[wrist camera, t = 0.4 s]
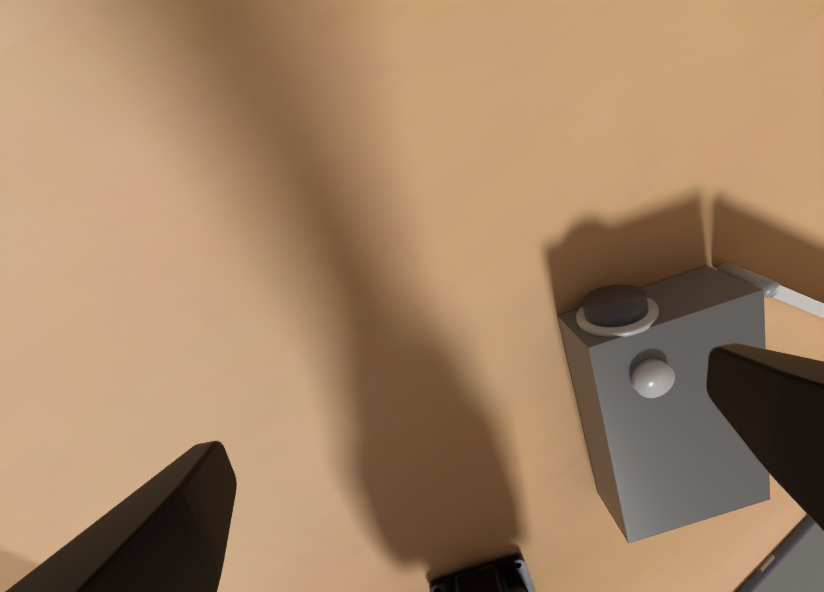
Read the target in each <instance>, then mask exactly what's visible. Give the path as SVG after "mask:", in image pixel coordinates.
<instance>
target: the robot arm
mask: <svg viewBox="0 0 824 592" xmlns="http://www.w3.org/2000/svg"><path fill="white" fill-rule="evenodd" d="M706 389H707V393H708V395H709V397H710V399H711V401H712V402H713V403H714V404H715V406H716V407H717V408H718V410H719V411H720V412H721V413H722V415H723V416H724V417H725V418H726V420H727V421H728V422H729V424H730V425H731V426H732V427H733V429H734V430H735V431H736V432H737V434H738V435H739V436H740V438H741V439H742V440H743V441H744V443H745V444H746V445H747V446H748V448H749V449H750V450H751V452H752V453H753V454H754V455H755V457H756V458H757V459H758V460H759V462H760V463H761V464H762V465H763V466H764V468H765V469H766V470H767V471H768V472H769V473H770V474H771V476H772V477H773V478H774V479H775V480H776V481H777V482H778V483H779V484H780V485H781V486H782V488H783V489H784V490H785V491H786V492H787V493H788V494H789V495H790V496H791V497H792V498H793V499H794V500H795V501H796V502H797V503H798V505H799V506H800V507H801V508H802V509H803V510H804V511H805V512H806V513H807V514H808V515H809V516H810V517H811V518H812V519H813V520H814V521H815V523H816V524H817V525H818V526H819V527H820V528H821V529H822V530H823V531H824V362H823V361H818V360H814V359H809V358H804V357H800V356H795V355H790V354H786V353H781V352H776V351H771V350H767V349H762V348H757V347H753V346H748V345H743V344H738V343H732V344H727V345H722V346H717V347H714V348H713V349H711V351H710V353H709V357H708V369H707V380H706ZM236 487H237V483H236V476H235V473H234V471H233V468H232V466H231V463H230V461H229V458H228V455H227V453H226V450H225V448H224V446H223V444H222V443H221V442H219V441H211V442H206V443H201V444H197V445H194V446H193V447H192V448H190V449H189V450H188V451H187V452H185V453H184V454H183V455H181V456H180V457H179V458H177V459H176V460H175V461H174V462H172V463H171V464H170V465H168V466H167V467H166V468H165V469H163V470H162V471H161V472H159V473H158V474H157V475H155V476H154V477H153V478H152V479H150V480H149V481H148V482H146V483H145V484H144V485H143V486H141V487H140V488H139V489H137V490H136V491H135V492H133V493H132V494H131V495H130V496H128V497H127V498H126V499H124V500H123V501H122V502H121V503H119V504H118V505H117V506H115V507H114V508H113V509H111V510H110V511H109V512H108V513H106V514H105V515H104V516H102V517H101V518H100V519H99V520H97V521H96V522H95V523H93V524H92V525H91V526H90V527H88V528H87V529H86V530H84V531H83V532H82V533H80V534H79V535H78V536H77V537H75V538H74V539H73V540H71V541H70V542H69V543H68V544H66V545H65V546H64V547H62V548H61V549H60V550H58V551H57V552H56V553H55V554H53V555H52V556H51V557H49V558H48V559H47V560H46V561H44V562H43V563H42V564H40V565H39V566H38V567H36V568H35V569H34V570H33V571H31V572H30V573H29V574H27V575H26V576H25V577H24V578H22V579H21V580H20V581H18V582H17V583H16V584H14V585H13V586H12V587H11V588H10V589H8V590H7V591H5V592H217V589H218V585H219V581H220V577H221V573H222V568H223V563H224V558H225V552H226V546H227V541H228V535H229V529H230V523H231V518H232V512H233V506H234V500H235V495H236ZM429 587H430V592H535V591H534V588H533V585H532V582H531V579H530V576H529V573H528V570H527V567H526V564H525V561H524V558H523V557H522V556H521V555H518V554H517V555H512V556H509V557H506V558H503V559H500V560H496V561H493V562H490V563H487V564H484V565H481V566H477V567H474V568H471V569H468V570H465V571H461V572H458V573H455V574H452V575H449V576H446V577H442V578H439V579H436V580H433V581H432V582H431V583H430V584H429Z"/></svg>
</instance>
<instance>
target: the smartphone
mask: <svg viewBox="0 0 824 592" xmlns="http://www.w3.org/2000/svg"><path fill="white" fill-rule="evenodd" d="M737 592H824V531H823V530H822V529H821V528H820V527H819V526H818V525H817V524H816V523H815V521H814V520H813V519H812V518H811V517H810V516H809V515H808V516H807V517H806V518H805V519H804V520H803V521H802V522H801V523H800V524H799V526H798V527H797V528H796V529H795V530H794V531H793V532H792V533H791V534H790V535H789V536H788V537H787V538H786V539H785V541H784V542H783V543H782V544H781V545H780V546H779V547H778V548H777V549H776V550H775V551H774V552H773V553H772V554H771V555H770V556H769V557H768V558H767V559H766V560H765V562H764V563H763V564H762V565H761V566H760V567H759V568H758V569H757V571H756V572H755V573H754V574H753V575H752V576H751V577H750V578H749V579H748V580H747V581H746V582H745V583H744V585H743V586H742V587H741V588H740V589H739V590H738V591H737Z"/></svg>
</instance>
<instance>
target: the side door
mask: <svg viewBox="0 0 824 592" xmlns="http://www.w3.org/2000/svg"><path fill="white" fill-rule="evenodd" d="M717 270H718V271H721V272H723V273H725V274H728V275H730V276H732V277H735V278H737V279H740V280H742V281H744V282H747V283H749V284H751V285H754V286H756V287H758V288H761V289H763V290H764V296H765V297H767V298H771V297H773V298H776V299H778V300H781V301H783V302H785V303H788V304H790V305H793V306H795V307H798V308H800V309H802V310H805V311H807V312H810V313H812V314H815V315H817V316H819V317H822V318H824V303H821V302H819V301H816V300H814V299H812V298H809V297H807V296H805V295H802V294H800V293H797V292H795V291H793V290H790V289H788V288H786V287H783V286H781V285H780V283H779V282H777V281H775V280H772V279H770V278H767V277H764V276H762V275H759V274H757V273H754V272H752V271H749V270H746V269H744V268H741V267H739V266H736V265H734V264H731V263H728V262H725V263H722V264H721V265H720V266H719V267H718V268H717Z"/></svg>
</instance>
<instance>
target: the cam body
mask: <svg viewBox="0 0 824 592" xmlns="http://www.w3.org/2000/svg"><path fill="white" fill-rule="evenodd" d="M557 317H558V321H559V326H560V330H561V334H562V339H563V343H564V347H565V352H566V356H567V361H568V365H569V369H570V374H571V378H572V382H573V387H574V391H575V395H576V400H577V404H578V408H579V413H580V417H581V422H582V426H583V430H584V435H585V439H586V443H587V448H588V452H589V456H590V461H591V465H592V470H593V474H594V478H595V483H596V487H597V491H598V494H599V496H600V497H601V499H602V501H603V502H604V504H605V506H606V507H607V509H608V511H609V512H610V514H611V515H612V517H613V519H614V520H615V522H616V524H617V525H618V527H619V529H620V530H621V532H622V533H623V535H624V537H625V538H626V540H627V542H628V543H632V542H635V541H638V540H641V539H644V538H648V537H651V536H654V535H657V534H660V533H664V532H667V531H670V530H673V529H676V528H680V527H683V526H686V525H689V524H692V523H696V522H699V521H702V520H705V519H708V518H712V517H715V516H718V515H721V514H724V513H728V512H731V511H734V510H737V509H740V508H744V507H747V506H750V505H753V504H756V503H760V502H763V501H766V500H769V499H770V482H769V472H768V471H767V470H766V469H765V468H764V466H763V465H762V464H761V463H760V462H759V460H758V459H757V458H756V457H755V455H754V454H753V453H752V452H751V450H750V449H749V448H748V446H747V445H746V444H745V443H744V441H743V440H742V439H741V438H740V436H739V435H738V434H737V432H736V431H735V430H734V429H733V427H732V426H731V425H730V424H729V422H728V421H727V420H726V418H725V417H724V416H723V415H722V413H721V412H720V411H719V410H718V408H717V407H716V406H715V404H714V403H713V402H712V401H711V399H710V397H709V395H708V393H707V389H706V380H707V369H708V357H709V353H710V351H711V349H713V348H714V347H717V346H722V345H727V344H732V343H738V344H743V345H748V346H753V347H757V348H762V349H765V318H764V290H763V289H761V288H758V287H756V286H754V285H751V284H749V283H747V282H744V281H742V280H740V279H737V278H735V277H732V276H730V275H728V274H725V273H723V272H721V271H718V270H716V269H713V268H711V267H709V266H703V267H700V268H697V269H694V270H691V271H688V272H685V273H683V274H680V275H677V276H674V277H671V278H668V279H665V280H662V281H659V282H656V283H653V284H650V285H647V286H644V287H641V288H639V287H636V286H632V285H611V286H606V287H602V288H599V289H596V290H594V291H592V292H590V293H589V294H587V295H586V296H585V297H584V298H583V300H582V307H581V308H579V309H576V310H573V311H570V312H567V313H564V314H561V315H558V316H557Z"/></svg>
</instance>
